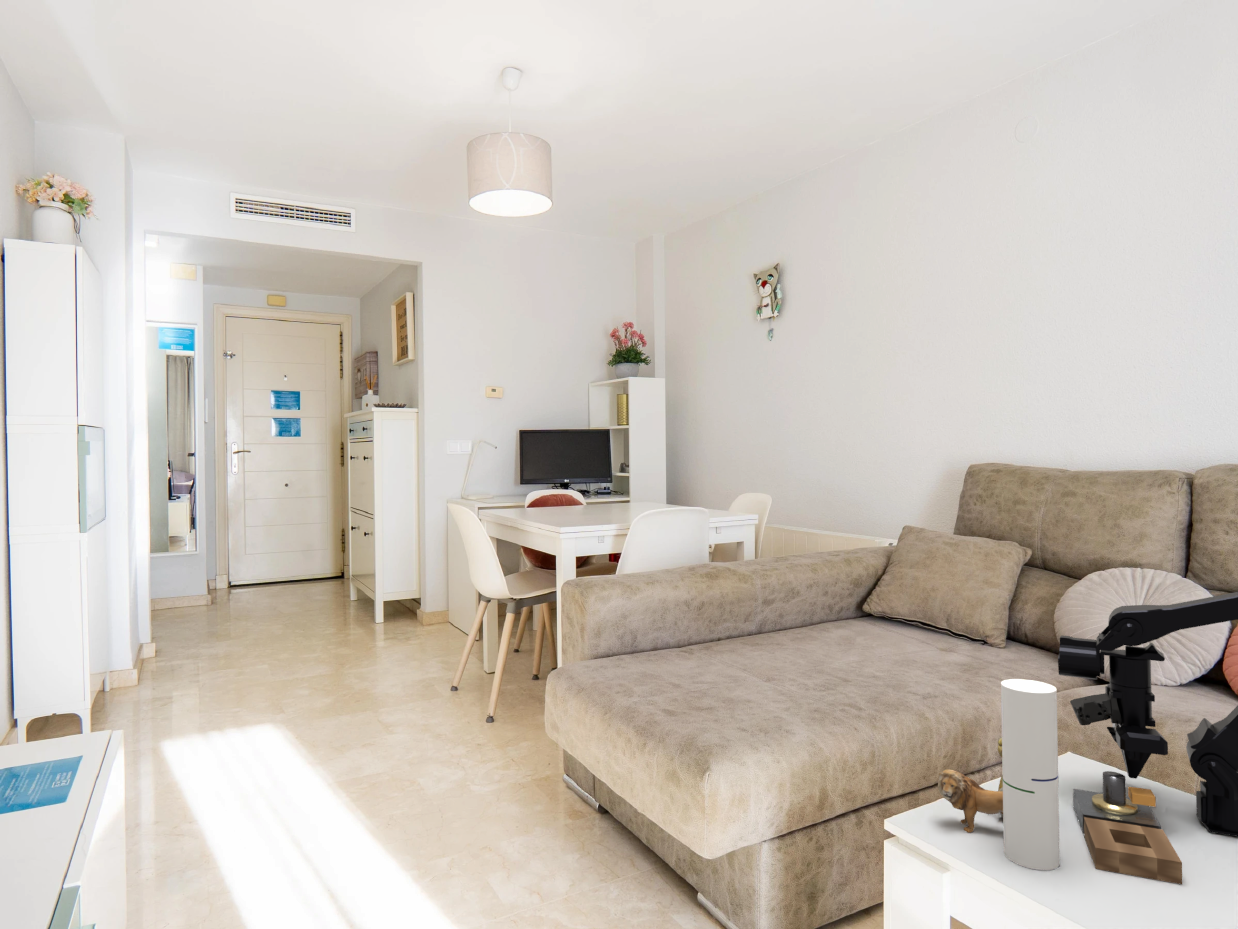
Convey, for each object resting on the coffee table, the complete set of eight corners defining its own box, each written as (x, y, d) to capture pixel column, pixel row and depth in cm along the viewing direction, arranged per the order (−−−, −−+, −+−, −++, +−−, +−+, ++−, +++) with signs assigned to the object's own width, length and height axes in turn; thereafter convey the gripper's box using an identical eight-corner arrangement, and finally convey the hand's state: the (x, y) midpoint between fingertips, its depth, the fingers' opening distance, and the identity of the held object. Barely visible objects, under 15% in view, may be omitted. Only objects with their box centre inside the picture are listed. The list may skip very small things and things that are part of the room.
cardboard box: (1150, 799, 116) (1150, 789, 116) (1155, 807, 114) (1155, 797, 114) (1128, 795, 118) (1128, 786, 118) (1132, 803, 115) (1132, 794, 115)
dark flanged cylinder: (1133, 821, 118) (1132, 771, 118) (1142, 838, 112) (1141, 785, 112) (1089, 814, 120) (1088, 765, 120) (1096, 830, 115) (1095, 779, 115)
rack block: (1163, 849, 109) (1162, 829, 109) (1182, 884, 100) (1181, 862, 100) (1084, 836, 113) (1083, 817, 113) (1095, 868, 104) (1095, 847, 104)
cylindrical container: (1067, 872, 103) (1064, 694, 103) (1012, 867, 104) (1009, 691, 105) (1048, 847, 110) (1045, 680, 110) (997, 842, 111) (994, 678, 112)
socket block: (1145, 817, 119) (1145, 799, 119) (1161, 846, 110) (1160, 826, 110) (1073, 806, 123) (1073, 788, 123) (1083, 833, 114) (1082, 814, 114)
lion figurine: (939, 832, 115) (938, 775, 115) (937, 817, 120) (936, 762, 120) (1046, 848, 110) (1045, 788, 110) (1039, 832, 115) (1038, 774, 115)
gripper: (1066, 665, 134) (1068, 751, 134) (1082, 693, 117) (1084, 791, 117) (1139, 671, 129) (1141, 760, 129) (1167, 701, 112) (1170, 804, 112)
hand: (1132, 777), depth 122 cm, fingers closed
